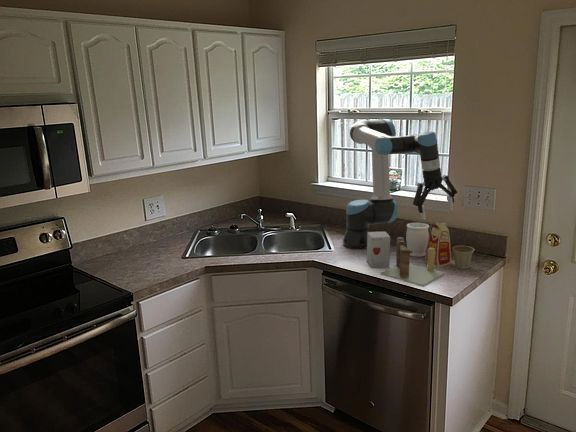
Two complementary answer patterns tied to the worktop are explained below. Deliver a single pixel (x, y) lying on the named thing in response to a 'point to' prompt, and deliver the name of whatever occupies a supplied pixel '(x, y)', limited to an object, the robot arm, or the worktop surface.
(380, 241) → the supplement box
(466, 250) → the flower pot
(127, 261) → the worktop surface
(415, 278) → the gate frame
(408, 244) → the jar
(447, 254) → the milk carton
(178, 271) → the worktop surface
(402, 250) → the gate
